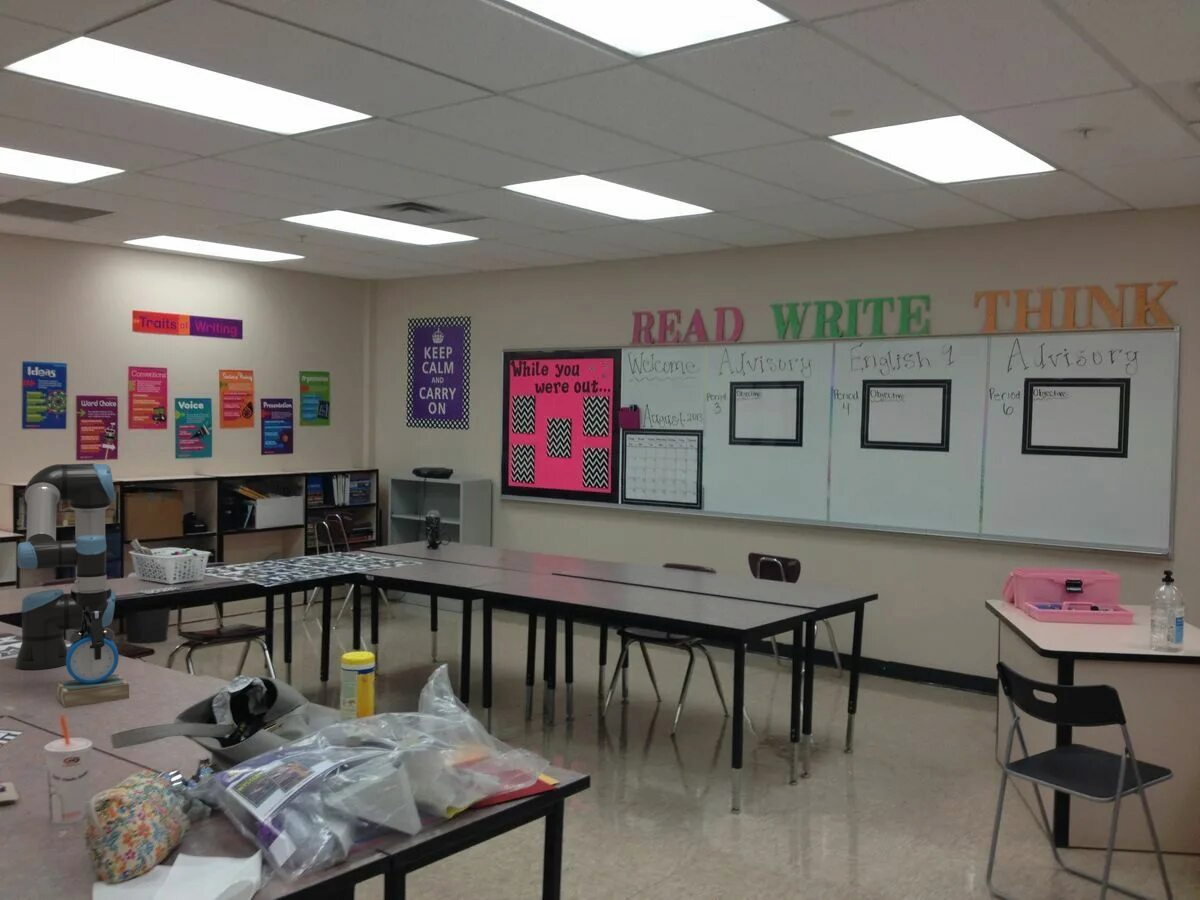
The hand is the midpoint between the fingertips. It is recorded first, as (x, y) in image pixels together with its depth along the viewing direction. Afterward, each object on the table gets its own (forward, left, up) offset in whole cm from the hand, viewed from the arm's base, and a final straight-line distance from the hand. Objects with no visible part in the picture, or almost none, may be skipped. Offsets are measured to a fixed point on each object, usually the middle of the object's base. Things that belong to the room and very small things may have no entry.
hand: (92, 666), depth 286 cm
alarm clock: (0, 0, -5) cm, 5 cm away
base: (0, 0, -9) cm, 9 cm away
